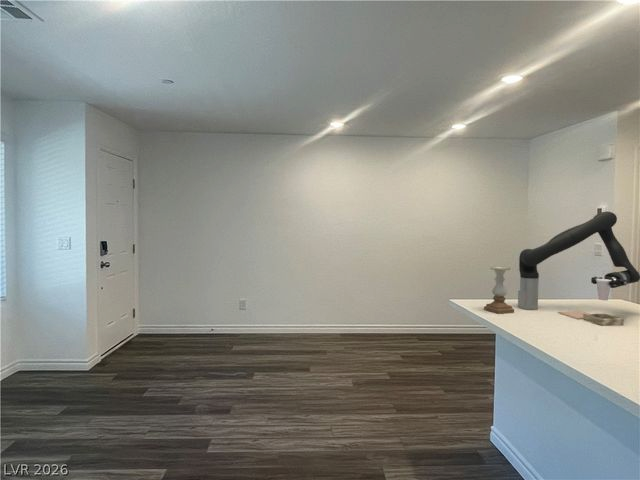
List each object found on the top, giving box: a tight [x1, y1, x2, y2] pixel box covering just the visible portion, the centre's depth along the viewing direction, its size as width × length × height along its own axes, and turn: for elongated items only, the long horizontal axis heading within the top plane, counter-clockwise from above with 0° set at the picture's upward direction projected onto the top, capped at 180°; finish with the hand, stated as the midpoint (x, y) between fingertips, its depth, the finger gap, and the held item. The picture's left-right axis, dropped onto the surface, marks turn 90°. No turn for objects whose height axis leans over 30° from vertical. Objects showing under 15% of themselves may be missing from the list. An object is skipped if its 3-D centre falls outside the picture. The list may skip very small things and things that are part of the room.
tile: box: [557, 310, 591, 320], centre depth 210 cm, size 14×14×1 cm
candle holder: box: [483, 266, 515, 315], centre depth 220 cm, size 11×11×24 cm
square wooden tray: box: [582, 313, 625, 327], centre depth 196 cm, size 11×11×3 cm
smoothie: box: [596, 270, 612, 301], centre depth 196 cm, size 6×6×14 cm
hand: (601, 282), depth 194 cm, fingers closed on smoothie, 6 cm apart
